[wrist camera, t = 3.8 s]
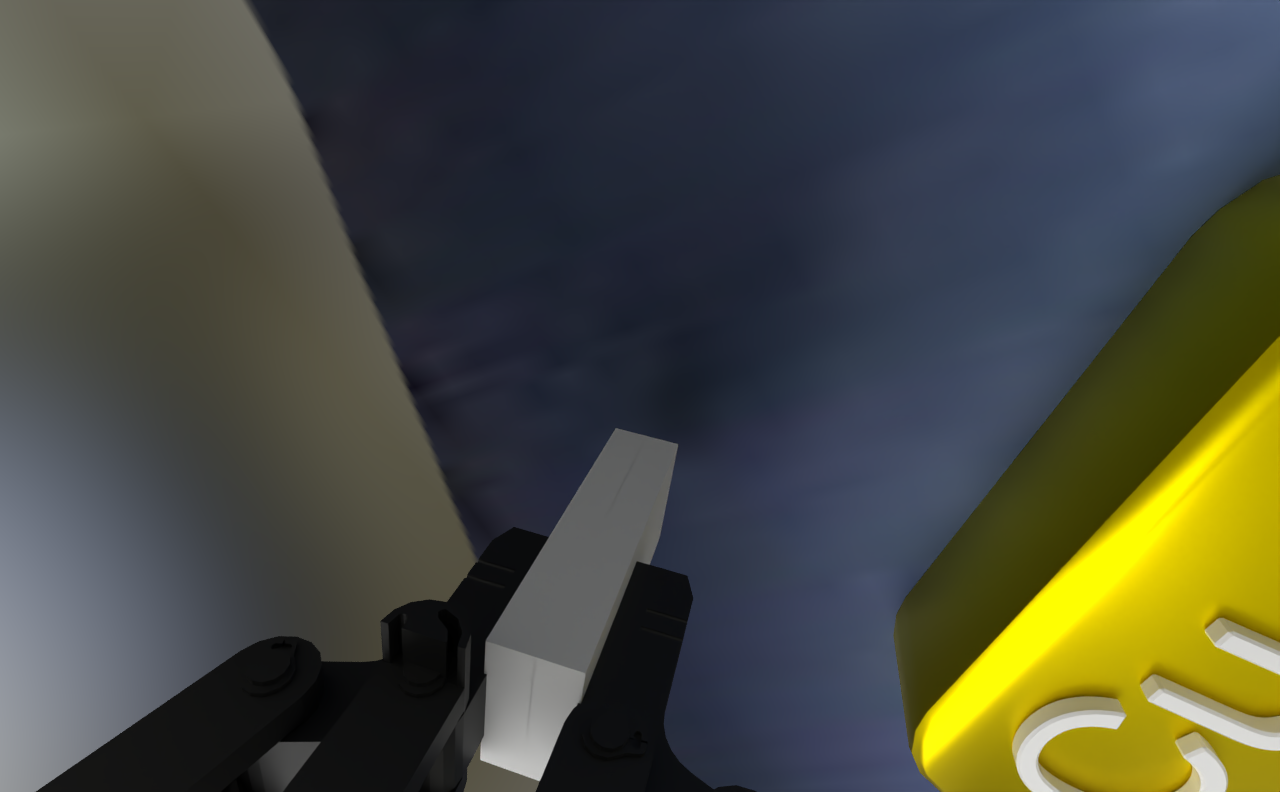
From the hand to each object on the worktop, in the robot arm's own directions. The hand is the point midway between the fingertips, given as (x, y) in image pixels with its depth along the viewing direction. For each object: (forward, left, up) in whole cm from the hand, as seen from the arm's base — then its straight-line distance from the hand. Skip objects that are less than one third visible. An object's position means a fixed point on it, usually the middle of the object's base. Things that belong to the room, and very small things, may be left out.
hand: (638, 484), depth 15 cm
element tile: (-1, +16, -3) cm, 16 cm away
